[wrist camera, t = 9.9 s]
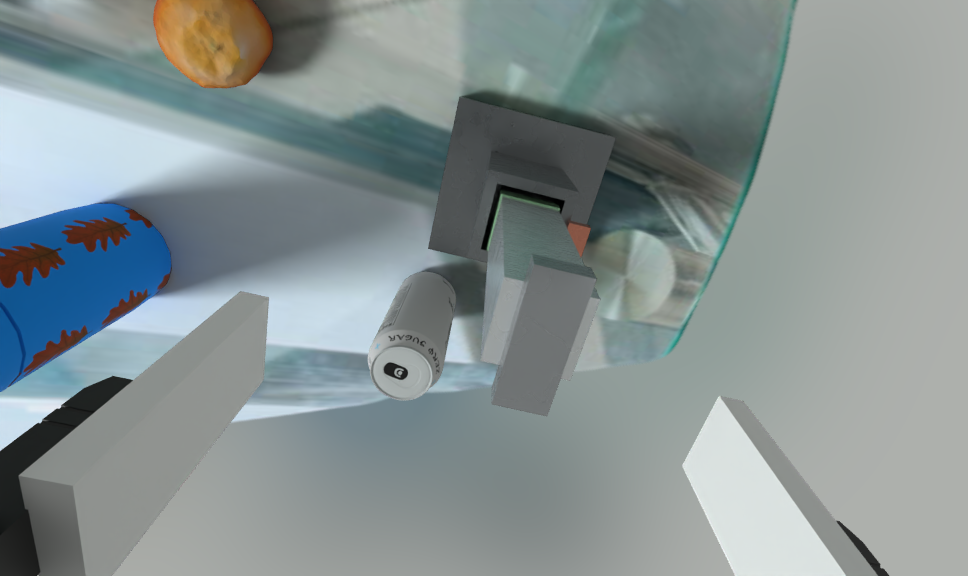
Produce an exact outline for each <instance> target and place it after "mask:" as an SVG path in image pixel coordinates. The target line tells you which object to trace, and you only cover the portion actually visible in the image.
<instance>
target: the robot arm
mask: <svg viewBox="0 0 968 576" xmlns="http://www.w3.org/2000/svg"><path fill="white" fill-rule="evenodd" d="M268 303H269V297H265V296H260V295H256V294H251V293H246V292H242V291H240V292H239V293H238V294H237V295H235V296H234V297H233V298H232V299H231V300H229V301H228V302H227V303H226V304H225V305H223V306H222V307H221V308H220V309H219V310H217V311H216V312H215V313H214V314H213V315H211V316H210V317H209V318H208V319H207V320H205V321H204V322H203V323H202V324H201V325H199V326H198V327H197V328H196V329H195V330H193V331H192V332H191V333H190V334H188V335H187V336H186V337H185V338H184V339H182V340H181V341H180V342H179V343H178V344H176V345H175V346H174V347H173V348H172V349H170V350H169V351H168V352H167V353H166V354H164V355H163V356H162V357H161V358H160V359H158V360H157V361H156V362H155V363H154V364H152V365H151V366H150V367H149V368H148V369H146V370H145V371H144V372H143V373H142V374H140V375H139V376H138V377H137V378H136V379H134V380H130V379H125V378H120V377H115V376H112V377H110V378H107V379H105V380H102V381H100V382H98V383H95V384H93V385H91V386H88V387H86V388H84V389H82V390H81V391H80V392H78V393H77V394H76V395H74V396H73V397H72V398H70V399H69V400H68V401H66V402H65V403H64V404H62V405H61V408H60V409H56V410H54V411H53V412H52V413H50V414H49V415H48V416H46V417H45V418H44V419H43V420H42V422H41V423H37V424H36V425H34V426H33V427H32V428H30V429H29V430H28V431H26V432H25V433H24V434H22V435H21V436H20V437H18V438H17V439H16V440H14V441H13V442H12V443H10V444H9V445H8V446H6V447H5V448H4V449H2V450H1V451H0V576H37V575H39V576H112V575H113V574H114V573H115V571H116V570H117V569H118V568H119V566H120V565H121V564H122V562H123V561H124V560H125V558H126V557H127V556H128V555H129V553H130V551H132V549H133V548H134V547H135V546H136V544H137V543H138V542H139V540H140V539H141V538H142V537H143V535H144V534H145V533H146V531H147V530H148V529H149V527H150V526H151V525H152V524H153V522H154V521H155V520H156V518H157V517H158V516H159V514H160V513H161V512H162V511H163V509H164V508H165V507H166V505H167V504H168V503H169V501H170V500H171V499H172V498H173V496H174V495H175V494H176V492H177V491H178V490H179V489H180V487H181V486H182V485H183V483H184V482H185V481H186V479H187V478H188V477H189V476H190V474H191V473H192V472H193V470H194V469H195V468H196V467H197V465H198V464H199V463H200V461H201V460H202V459H203V458H204V456H205V455H206V454H207V452H208V451H209V450H210V449H211V447H212V446H213V445H214V443H215V442H216V441H217V439H218V438H219V437H220V436H221V434H222V433H223V431H224V430H225V429H226V428H227V426H228V425H229V424H230V423H231V421H232V420H233V419H234V417H235V416H236V415H237V414H238V412H239V411H240V410H241V408H242V407H243V406H244V405H245V403H246V402H247V401H248V399H249V398H250V397H251V395H252V394H253V393H254V392H255V390H256V389H257V388H258V386H259V385H260V384H261V383H262V381H263V380H264V367H265V351H266V335H267V319H268ZM682 466H683V469H684V470H685V473H686V475H687V477H688V479H689V481H690V483H691V485H692V487H693V489H694V491H695V494H696V495H697V498H698V500H699V502H700V504H701V506H702V508H703V510H704V512H705V514H706V516H707V518H708V521H709V523H710V525H711V527H712V529H713V531H714V533H715V535H716V537H717V539H718V541H719V543H720V545H721V547H722V550H723V552H724V554H725V556H726V558H727V560H728V562H729V564H730V566H731V568H732V570H733V572H734V574H735V576H889V575H888V574H887V572H886V571H885V570H884V569H881V568H880V563H879V562H878V561H877V560H876V558H875V557H874V556H873V555H872V553H871V552H870V551H869V550H868V548H867V547H866V546H865V544H864V543H863V542H862V541H861V540H860V539H859V538H857V537H856V536H855V535H854V534H853V533H852V532H851V531H850V530H849V529H847V528H846V527H845V526H844V525H843V524H842V523H841V522H840V521H836V520H835V519H834V518H833V517H832V516H831V514H830V513H829V511H828V510H827V509H826V508H825V506H824V505H823V504H822V502H821V501H820V500H819V498H818V497H817V496H816V495H815V493H814V492H813V491H812V489H811V488H810V487H809V485H808V484H807V483H806V482H805V480H804V479H803V478H802V476H801V475H800V474H799V472H798V471H797V470H796V469H795V467H794V466H793V465H792V463H791V462H790V461H789V460H788V458H787V457H786V456H785V454H784V453H783V452H782V450H781V449H780V448H779V446H778V445H777V444H776V443H775V441H774V440H773V439H772V437H771V436H770V435H769V433H768V432H767V431H766V430H765V428H764V427H763V426H762V424H761V423H760V422H759V420H758V419H757V418H756V417H755V415H754V414H753V413H752V411H751V410H750V409H749V408H748V406H747V405H746V404H745V403H744V401H741V400H736V399H732V398H727V397H722V396H719V397H718V399H717V401H716V403H715V405H714V407H713V409H712V410H711V412H710V414H709V416H708V418H707V420H706V422H705V424H704V425H703V427H702V430H701V431H700V433H699V435H698V437H697V439H696V441H695V443H694V444H693V446H692V448H691V450H690V452H689V454H688V456H687V458H686V460H685V461H684V464H683V465H682Z"/></svg>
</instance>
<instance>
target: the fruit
mask: <svg viewBox="0 0 968 576" xmlns="http://www.w3.org/2000/svg"><path fill="white" fill-rule="evenodd" d="M153 21H154V27H155V30H156V35H157V40H158V43H159V45H160V47H161V49H162V51H163V52H164V54H165V56H166V57H167V59H168V60H169V61H170V62H171V63H172V64H173V65H174V66H175V67H176V68H177V69H178V70H179V71H181V72H182V73H183V74H184V75H185V76H187V77H188V78H189V79H191V80H192V81H193V82H196V83H197V84H199V85H200V86H201V87H204V88H231V87H236V86H240V85H245V84H247V83H248V82H249V81H250V80H251V79H252V78H253V77H255V76H256V75H257V74H258V73H259V71H260V69H261V67H262V65H263V64H264V62H265V61H266V59H267V58H268V56H269V55H270V53H271V51H272V48H273V35H272V31H271V28H270V26H269V24H268V22H267V20H266V19H265V17H264V15H263V14H262V12H261V11H260V10H259V8H258V7H257V6H256V4H255V3H254V2H253V1H252V0H157V2H156V5H155V9H154V17H153Z"/></svg>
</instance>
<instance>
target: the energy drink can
mask: <svg viewBox="0 0 968 576" xmlns="http://www.w3.org/2000/svg"><path fill="white" fill-rule="evenodd" d="M455 305H456V295H455V291H454V289H453V287H452V285H451V284H450V283H449V282H448V281H447V280H446V279H445V278H444V277H442V276H440V275H439V274H436V273H432V272H419V273H415V274H413V275H410V276H409V277H408V278H406V279H405V280H404V282H403V283H402V284H401V286H400V288H399V290H398V292H397V294H396V296H395V298H394V300H393V302H392V304H391V306H390V308H389V310H388V312H387V314H386V316H385V318H384V320H383V323H382V325H381V327H380V329H379V331H378V333H377V335H376V337H375V339H374V341H373V343H372V345H371V347H370V350H369V353H368V364H369V368H370V375H371V379H372V381H373V383H374V385H375V386H376V388H377V389H378V390H379V391H380V392H381V393H383V394H384V395H386V396H388V397H390V398H393V399H396V400H411V399H415V398H418V397H420V396H421V395H423V394H424V393H425V392H426V391H427V390H428V389H429V388H430V387H432V386H433V385H434V384H435V383H436V382H437V381H438V379H439V378H440V376H441V373H442V370H443V365H444V360H445V355H446V350H447V345H448V340H449V335H450V330H451V325H452V320H453V315H454V310H455Z"/></svg>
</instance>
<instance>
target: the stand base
mask: <svg viewBox="0 0 968 576" xmlns="http://www.w3.org/2000/svg"><path fill="white" fill-rule="evenodd" d="M615 139H616V138H615V137H613V136H611V135H607V134H603V133H600V132H596V131H592V130H588V129H584V128H580V127H577V126H573V125H569V124H565V123H561V122H557V121H554V120H550V119H546V118H542V117H538V116H534V115H531V114H527V113H523V112H519V111H515V110H511V109H508V108H504V107H500V106H496V105H492V104H488V103H485V102H481V101H477V100H473V99H469V98H466V97H462V96H461V97H459V102H458V106H457V111H456V116H455V121H454V126H453V131H452V135H451V140H450V145H449V150H448V155H447V160H446V165H445V169H444V174H443V179H442V184H441V189H440V194H439V198H438V203H437V208H436V213H435V218H434V223H433V227H432V232H431V237H430V242H429V247H428V249H432V250H436V251H440V252H444V253H449V254H453V255H457V256H461V257H465V258H469V259H474V260H478V261H482V262H486V263H487V261H488V251H487V243H488V239H489V232H490V227H491V223H492V219H493V215H494V211H495V207H496V204H497V200H498V196H499V192H500V188H501V185H505V186H509V187H513V188H517V189H521V190H525V191H529V192H533V193H537V194H541V195H545V196H549V197H553V199H554V201H555V203H556V204H558V205H559V207H560V211H559V212H560V214H561V216H562V218H563V221H564V223H565V225H566V227H567V229H568V231H569V233H570V235H571V238H572V240H573V242H574V244H575V246H576V248H577V250H578V253H579V255H580V257H581V256H582V253H583V250H584V248H585V245H586V242H587V239H588V236H589V233H590V230H591V227H590V226H589V225H587V222H588V220H589V217H590V214H591V211H592V208H593V205H594V202H595V199H596V196H597V193H598V190H599V187H600V184H601V181H602V178H603V175H604V172H605V169H606V166H607V163H608V160H609V157H610V154H611V151H612V148H613V145H614V142H615Z"/></svg>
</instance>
